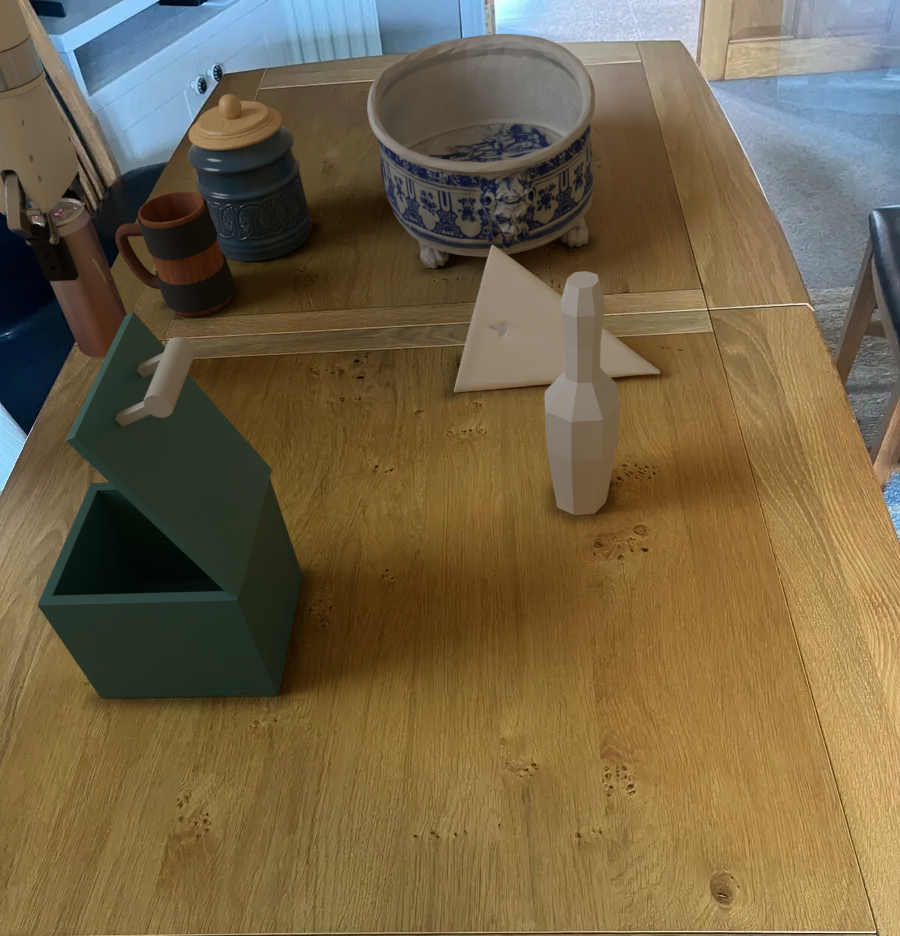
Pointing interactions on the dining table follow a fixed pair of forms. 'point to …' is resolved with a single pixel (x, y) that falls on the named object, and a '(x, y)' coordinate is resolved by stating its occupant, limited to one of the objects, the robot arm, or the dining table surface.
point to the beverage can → (86, 282)
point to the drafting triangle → (525, 334)
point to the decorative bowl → (486, 144)
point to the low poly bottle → (582, 404)
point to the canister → (250, 180)
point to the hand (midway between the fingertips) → (73, 259)
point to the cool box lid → (173, 452)
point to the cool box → (169, 606)
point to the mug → (180, 254)
